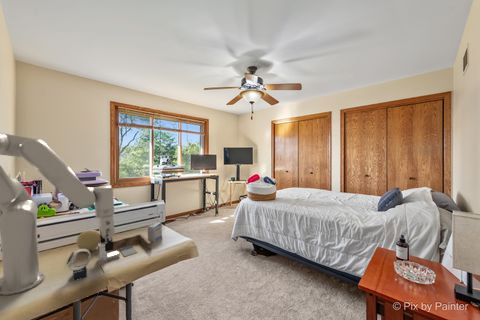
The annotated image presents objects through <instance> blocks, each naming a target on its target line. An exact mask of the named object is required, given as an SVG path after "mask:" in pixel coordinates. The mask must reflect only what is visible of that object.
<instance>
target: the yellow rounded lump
mask: <svg viewBox="0 0 480 320" xmlns="http://www.w3.org/2000/svg"><path fill="white" fill-rule="evenodd" d="M100 236H101V234H100V231H98V230H95V229H88V230H85V231H83V232H81V233H80V234H79V236H77V238H76V246H77V248H78V249H87V250H89V251H92V252H94V251H96V248H98V244H100V243H101V237H100ZM81 253H84V252H83V251H82V252H81Z"/></svg>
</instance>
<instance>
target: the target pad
mask: <svg viewBox="0 0 480 320" xmlns="http://www.w3.org/2000/svg"><path fill="white" fill-rule="evenodd" d="M118 250H119V252H120V253H121V254H122V255H123V257H125V258H126V257H128V256H131V255H133V254H137V253H138V251H137V250H136V248H134V247H133V244H129V245H126V246H122V247H119V248H118Z"/></svg>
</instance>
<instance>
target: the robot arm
mask: <svg viewBox="0 0 480 320" xmlns="http://www.w3.org/2000/svg"><path fill="white" fill-rule="evenodd" d="M1 155H2V156H7V157H15V158H23V159H24V160H25V161H26V162H27V163H28V164H29V165H30V166H32V167H33V168H34V169H35V170H37V172H39V173H40V174H41V176H43V178H45V179H46V180H47V181H48V182H49V183H50V184H51V185H52V186H54V187H55V188H56V190H58V191H59V192H60V193H61V195H63V196H64V197H65V198H67V200H68V201H70V202H71V203H72V204H73V205H74V206H75V207H77V208H79V209H88V208H90V207H91V206H93V205H94V215H95V218H97V219H98V230H99V231H100V234H101V236H100V237H101V243H103V242H106V243H105V251H106V252H107V253H108V252H109V251H113V250H114V249H113V241H114V239H113V236H115V235H116V230H115V224H114V223H115V220H114V217H113V216H114V215H115V204H114V203H115V199H114V188H113V187H112V186H111V185H100V186H95V187H94V186H93V187H92V186H91V187H90V186H86V185H85V184H84V183H83V182H82V181H81V180H80V179H79V178H78V177H77V175H76V174H75V173H74V171H73V169H72V168H71V167H70V166H69V164H67V163H66V162H65V161H64V160H63V159H62V158H61V157H60V156H59V155H58V154H57V153H55V151H54V150H53V149H52V148H51V147H50V146H49V145H48V143H46V142H45V141H44V140H42V139H39V138H32V137H26V136H19V135H14V134H9V133H3V132H0V156H1ZM38 208H39V207H38V205H37V203H36V201H35V200H34V198H32V196H31V194H30V193H29V191H28V190H27V189H26V188H25V187H24V185H23V184H22V182H20V181H19V180H18V179H16V178H13V177H10V176H9V175H8V174H7V173H6V171H5V169H4V168H3V167H2V166H1V165H0V211H1V212H2V213H1V215H0V241H1V244H0V245H1V252H2V253H1V255H2V269H3V273H2V274H3V275H2V277H1V278H0V295H1V294H3V295H2V296H9V295H10V294H11V295H14V294H15V293H16V294H19V293H21V292H25V291H27V290H30V289H32V288H34V287H35V286H38V285H39V284H40V283H42V281H43V280H45V275H46V274H45V272H42V271H40V262H39V261H40V260H39V241H38V224H37V223H38V222H37V221H38V219H37V218H38V212H39V209H38ZM16 294H15V295H16Z"/></svg>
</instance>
